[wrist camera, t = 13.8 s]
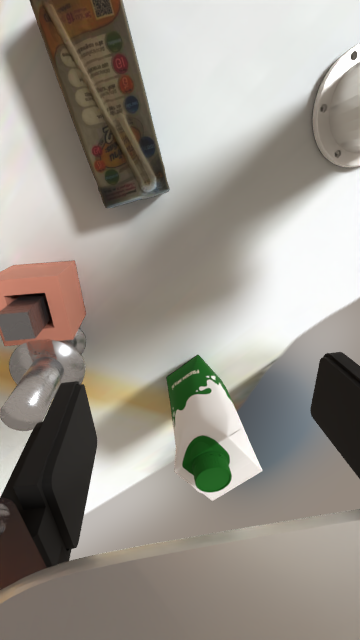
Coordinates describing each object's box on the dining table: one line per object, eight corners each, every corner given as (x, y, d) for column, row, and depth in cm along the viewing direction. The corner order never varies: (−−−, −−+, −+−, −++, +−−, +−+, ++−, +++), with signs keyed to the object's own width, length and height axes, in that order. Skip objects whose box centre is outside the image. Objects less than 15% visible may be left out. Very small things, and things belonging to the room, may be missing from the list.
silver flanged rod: (88, 310, 40) (57, 373, 26) (99, 361, 44) (76, 442, 29) (25, 316, 39) (-44, 384, 25) (41, 368, 43) (-11, 453, 29)
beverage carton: (109, 209, 35) (102, 211, 29) (39, 10, 27) (9, -43, 21) (168, 192, 35) (172, 190, 29) (115, -12, 27) (107, -72, 21)
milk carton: (199, 347, 45) (236, 447, 27) (228, 380, 49) (278, 488, 31) (158, 377, 47) (167, 490, 28) (189, 406, 50) (215, 524, 32)
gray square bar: (61, 279, 38) (27, 311, 27) (65, 299, 39) (35, 338, 28) (39, 281, 38) (-5, 314, 27) (44, 301, 39) (5, 341, 28)
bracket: (74, 260, 37) (57, 275, 30) (89, 329, 41) (77, 357, 34) (13, 265, 36) (-19, 281, 29) (35, 334, 41) (11, 364, 33)
